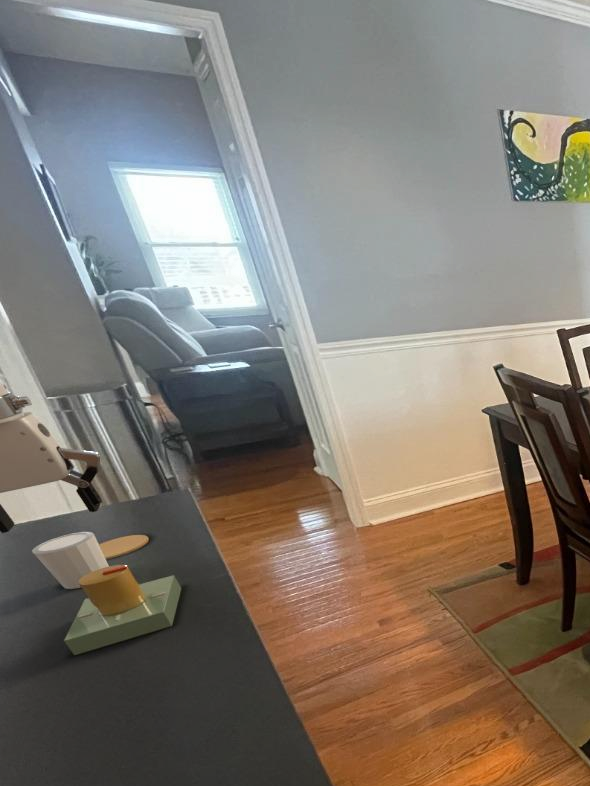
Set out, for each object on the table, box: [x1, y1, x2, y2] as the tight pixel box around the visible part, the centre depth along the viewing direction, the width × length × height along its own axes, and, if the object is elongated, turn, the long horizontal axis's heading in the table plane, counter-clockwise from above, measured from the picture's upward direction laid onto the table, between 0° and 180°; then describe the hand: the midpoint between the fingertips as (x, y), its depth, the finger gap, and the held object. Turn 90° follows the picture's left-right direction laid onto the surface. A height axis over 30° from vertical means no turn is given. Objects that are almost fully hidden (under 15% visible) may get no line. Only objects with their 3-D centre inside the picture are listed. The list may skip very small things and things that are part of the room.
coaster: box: [98, 534, 149, 560], centre depth 105 cm, size 8×8×1 cm
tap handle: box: [78, 564, 146, 615], centre depth 83 cm, size 5×5×6 cm
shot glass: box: [31, 531, 110, 590], centre depth 95 cm, size 7×7×7 cm
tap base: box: [63, 574, 182, 656], centre depth 85 cm, size 10×12×3 cm
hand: (53, 518), depth 92 cm, fingers open, 9 cm apart
